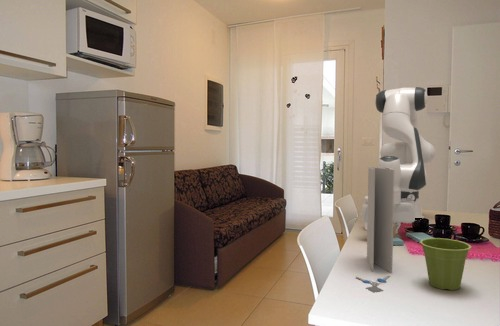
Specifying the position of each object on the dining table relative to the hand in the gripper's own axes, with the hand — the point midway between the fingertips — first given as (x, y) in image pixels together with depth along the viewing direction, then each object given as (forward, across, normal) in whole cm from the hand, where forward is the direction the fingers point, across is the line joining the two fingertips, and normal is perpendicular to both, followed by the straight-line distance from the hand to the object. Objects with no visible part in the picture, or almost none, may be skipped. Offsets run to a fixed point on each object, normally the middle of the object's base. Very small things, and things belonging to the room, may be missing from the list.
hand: (387, 233), depth 142 cm
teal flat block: (+3, -14, 0) cm, 14 cm away
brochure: (+3, +14, +29) cm, 32 cm away
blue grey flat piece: (+3, +22, +43) cm, 49 cm away
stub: (+3, 0, 0) cm, 3 cm away
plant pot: (+3, +3, +46) cm, 46 cm away
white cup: (+3, -1, -19) cm, 19 cm away
